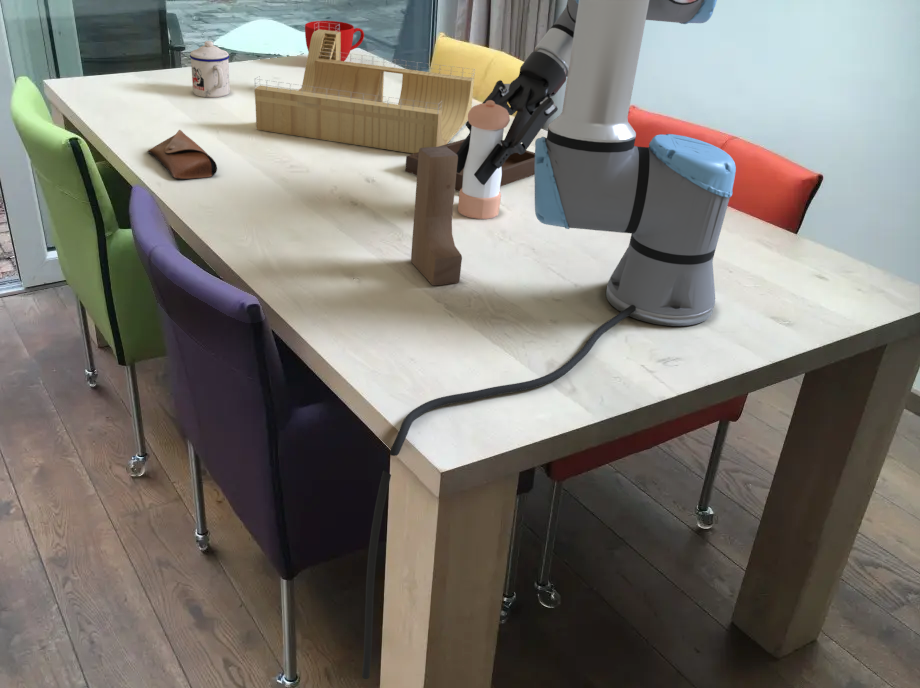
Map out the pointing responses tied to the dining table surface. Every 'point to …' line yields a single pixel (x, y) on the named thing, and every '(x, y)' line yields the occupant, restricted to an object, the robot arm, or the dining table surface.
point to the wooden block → (435, 217)
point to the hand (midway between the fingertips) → (466, 173)
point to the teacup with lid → (210, 71)
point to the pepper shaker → (483, 140)
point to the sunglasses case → (184, 158)
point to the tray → (511, 169)
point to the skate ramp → (365, 102)
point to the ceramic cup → (345, 30)
